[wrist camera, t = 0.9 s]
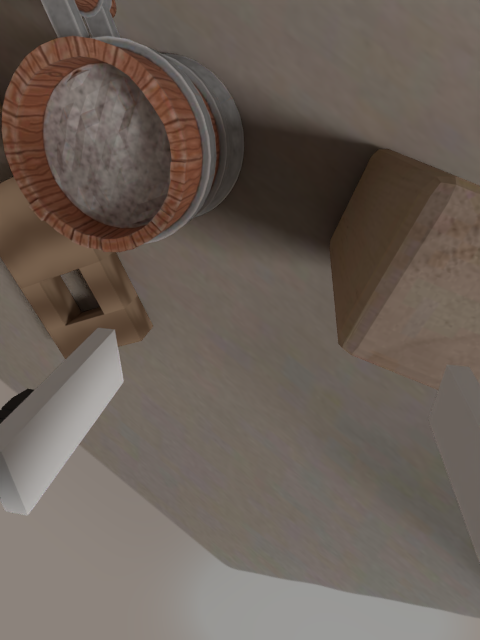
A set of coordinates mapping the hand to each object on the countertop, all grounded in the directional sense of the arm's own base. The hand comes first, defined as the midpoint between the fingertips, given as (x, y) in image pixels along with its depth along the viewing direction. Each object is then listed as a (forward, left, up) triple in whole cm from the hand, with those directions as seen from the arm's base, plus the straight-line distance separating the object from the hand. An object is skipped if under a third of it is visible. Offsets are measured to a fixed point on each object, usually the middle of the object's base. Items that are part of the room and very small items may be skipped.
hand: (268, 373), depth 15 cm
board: (-4, -26, -25) cm, 36 cm away
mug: (-14, -9, -26) cm, 30 cm away
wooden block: (+2, +9, -26) cm, 27 cm away
